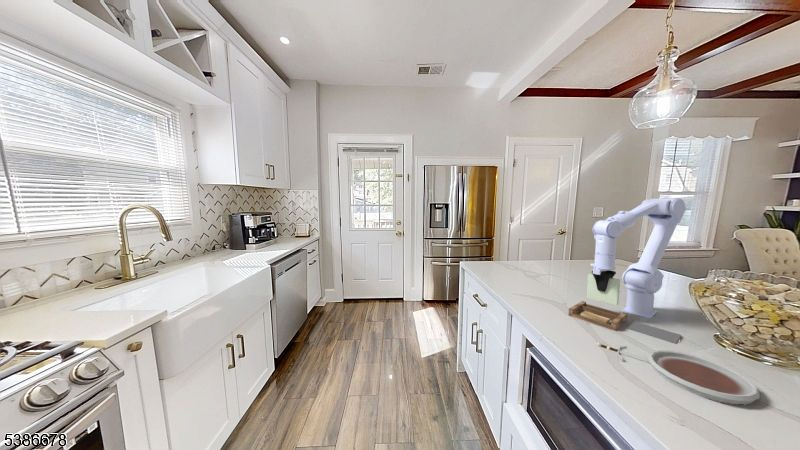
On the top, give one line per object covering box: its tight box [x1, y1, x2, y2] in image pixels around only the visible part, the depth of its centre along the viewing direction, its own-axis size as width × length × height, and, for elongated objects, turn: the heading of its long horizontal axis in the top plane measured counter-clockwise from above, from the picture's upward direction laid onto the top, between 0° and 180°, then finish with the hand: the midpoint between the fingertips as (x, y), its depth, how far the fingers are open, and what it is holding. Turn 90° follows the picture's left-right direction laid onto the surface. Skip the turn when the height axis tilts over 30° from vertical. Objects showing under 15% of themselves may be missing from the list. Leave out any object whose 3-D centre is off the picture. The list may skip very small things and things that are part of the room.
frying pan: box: [595, 341, 760, 406], centre depth 64 cm, size 17×3×28 cm
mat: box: [626, 321, 682, 345], centre depth 81 cm, size 8×11×1 cm
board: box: [586, 273, 621, 306], centre depth 91 cm, size 2×9×9 cm, turn 35°
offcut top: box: [579, 311, 611, 324], centre depth 89 cm, size 4×8×1 cm, turn 33°
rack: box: [568, 300, 628, 332], centre depth 90 cm, size 12×14×3 cm
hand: (602, 290), depth 91 cm, fingers closed on board, 1 cm apart
